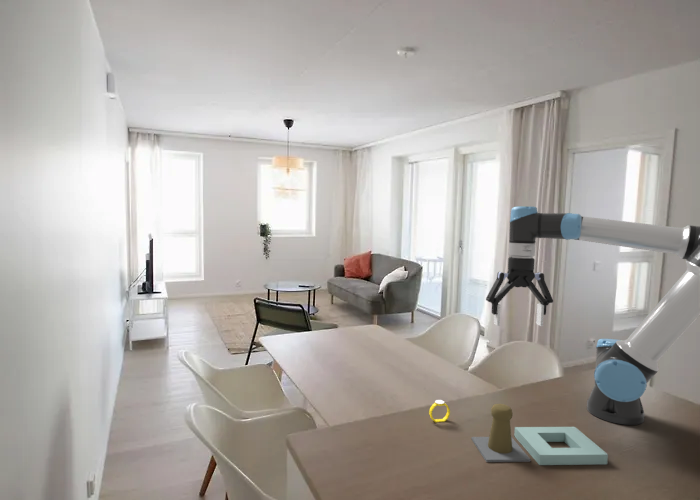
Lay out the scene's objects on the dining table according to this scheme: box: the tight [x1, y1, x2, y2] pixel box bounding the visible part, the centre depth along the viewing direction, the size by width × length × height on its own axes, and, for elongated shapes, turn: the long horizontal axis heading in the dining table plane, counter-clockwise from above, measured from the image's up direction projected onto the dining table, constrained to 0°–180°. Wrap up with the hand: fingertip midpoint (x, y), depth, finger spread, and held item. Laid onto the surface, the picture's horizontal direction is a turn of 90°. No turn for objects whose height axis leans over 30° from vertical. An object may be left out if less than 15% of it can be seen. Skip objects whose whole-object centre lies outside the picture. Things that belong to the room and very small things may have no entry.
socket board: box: [514, 426, 609, 466], centre depth 111 cm, size 17×14×2 cm
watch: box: [428, 399, 451, 423], centre depth 126 cm, size 6×3×6 cm, turn 102°
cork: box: [488, 403, 513, 453], centre depth 110 cm, size 6×6×11 cm
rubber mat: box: [471, 436, 532, 463], centre depth 110 cm, size 11×11×1 cm
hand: (518, 325), depth 133 cm, fingers open, 13 cm apart
